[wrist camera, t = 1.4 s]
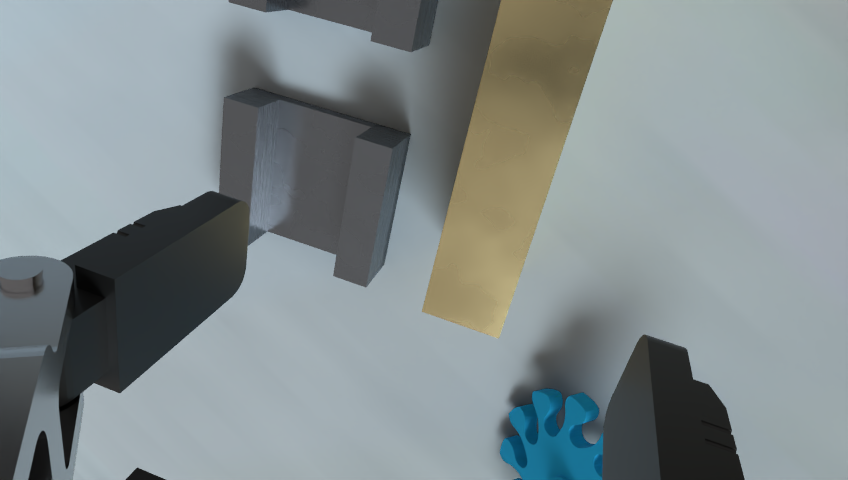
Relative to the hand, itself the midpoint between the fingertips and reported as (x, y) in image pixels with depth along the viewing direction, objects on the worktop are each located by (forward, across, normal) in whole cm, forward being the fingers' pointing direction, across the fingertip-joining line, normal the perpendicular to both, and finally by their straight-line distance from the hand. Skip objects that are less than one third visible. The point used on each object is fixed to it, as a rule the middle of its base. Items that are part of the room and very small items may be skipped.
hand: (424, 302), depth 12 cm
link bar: (+16, 0, 0) cm, 16 cm away
